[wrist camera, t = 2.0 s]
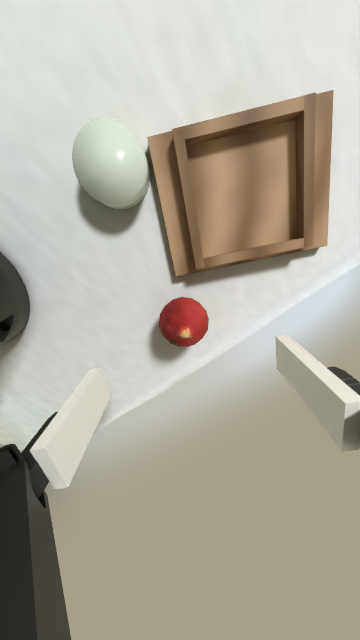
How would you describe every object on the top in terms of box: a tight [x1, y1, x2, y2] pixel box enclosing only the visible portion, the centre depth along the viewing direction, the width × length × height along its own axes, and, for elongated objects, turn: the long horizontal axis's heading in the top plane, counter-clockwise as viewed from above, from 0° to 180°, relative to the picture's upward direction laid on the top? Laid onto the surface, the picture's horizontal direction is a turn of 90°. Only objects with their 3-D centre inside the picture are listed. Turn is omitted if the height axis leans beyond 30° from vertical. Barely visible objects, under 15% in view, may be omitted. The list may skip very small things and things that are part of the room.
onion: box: [159, 297, 209, 346], centre depth 24 cm, size 6×6×8 cm
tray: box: [147, 90, 333, 276], centre depth 22 cm, size 18×14×3 cm
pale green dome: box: [72, 117, 150, 210], centre depth 21 cm, size 7×7×3 cm
